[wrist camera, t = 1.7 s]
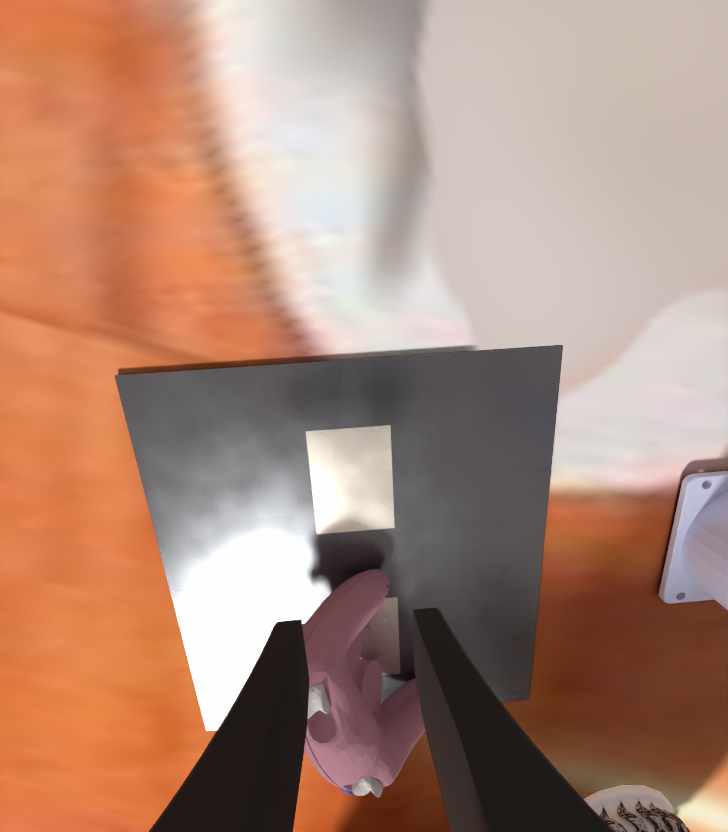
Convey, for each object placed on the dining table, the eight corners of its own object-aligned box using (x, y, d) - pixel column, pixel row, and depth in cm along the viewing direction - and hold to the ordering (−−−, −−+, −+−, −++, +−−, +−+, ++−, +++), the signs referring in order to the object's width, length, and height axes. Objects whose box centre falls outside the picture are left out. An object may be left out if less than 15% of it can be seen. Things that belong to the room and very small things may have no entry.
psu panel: (560, 344, 17) (563, 345, 17) (527, 696, 24) (529, 700, 24) (117, 374, 17) (114, 375, 16) (207, 727, 23) (206, 731, 23)
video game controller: (318, 560, 22) (239, 684, 16) (389, 559, 19) (328, 703, 14) (380, 678, 24) (332, 819, 19) (447, 688, 22) (417, 853, 16)
